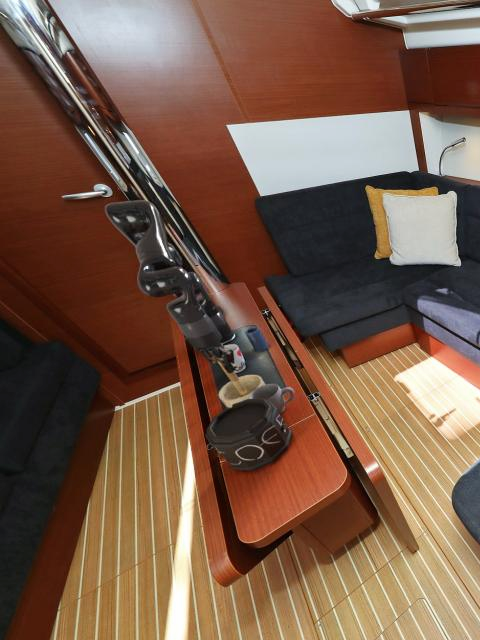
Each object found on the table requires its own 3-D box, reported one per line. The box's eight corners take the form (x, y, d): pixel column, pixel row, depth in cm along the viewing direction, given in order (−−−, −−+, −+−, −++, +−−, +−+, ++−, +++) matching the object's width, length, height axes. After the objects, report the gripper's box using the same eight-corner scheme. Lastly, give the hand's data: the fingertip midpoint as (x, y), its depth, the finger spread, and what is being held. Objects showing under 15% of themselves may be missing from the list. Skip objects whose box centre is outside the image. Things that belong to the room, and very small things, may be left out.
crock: (253, 348, 148) (243, 330, 142) (267, 343, 151) (257, 325, 145) (256, 353, 145) (246, 335, 139) (270, 348, 148) (260, 330, 142)
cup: (238, 376, 132) (225, 358, 126) (221, 373, 134) (207, 355, 128) (254, 364, 139) (242, 345, 133) (238, 361, 140) (226, 343, 134)
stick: (243, 397, 119) (216, 359, 108) (249, 394, 120) (224, 356, 109) (244, 400, 118) (217, 363, 107) (251, 397, 119) (225, 359, 108)
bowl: (225, 400, 122) (215, 387, 118) (265, 382, 130) (256, 369, 125) (233, 419, 115) (222, 406, 111) (274, 400, 122) (266, 387, 118)
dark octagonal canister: (289, 465, 101) (266, 434, 91) (221, 481, 96) (190, 450, 87) (301, 421, 114) (282, 390, 105) (243, 433, 110) (218, 401, 101)
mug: (263, 424, 113) (250, 405, 107) (261, 408, 119) (248, 390, 113) (301, 409, 119) (290, 390, 113) (297, 394, 125) (287, 376, 119)
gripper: (228, 326, 102) (254, 367, 113) (194, 320, 105) (223, 360, 115) (205, 340, 96) (234, 382, 107) (170, 333, 99) (202, 374, 110)
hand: (228, 370), depth 111 cm, fingers closed on stick, 2 cm apart
